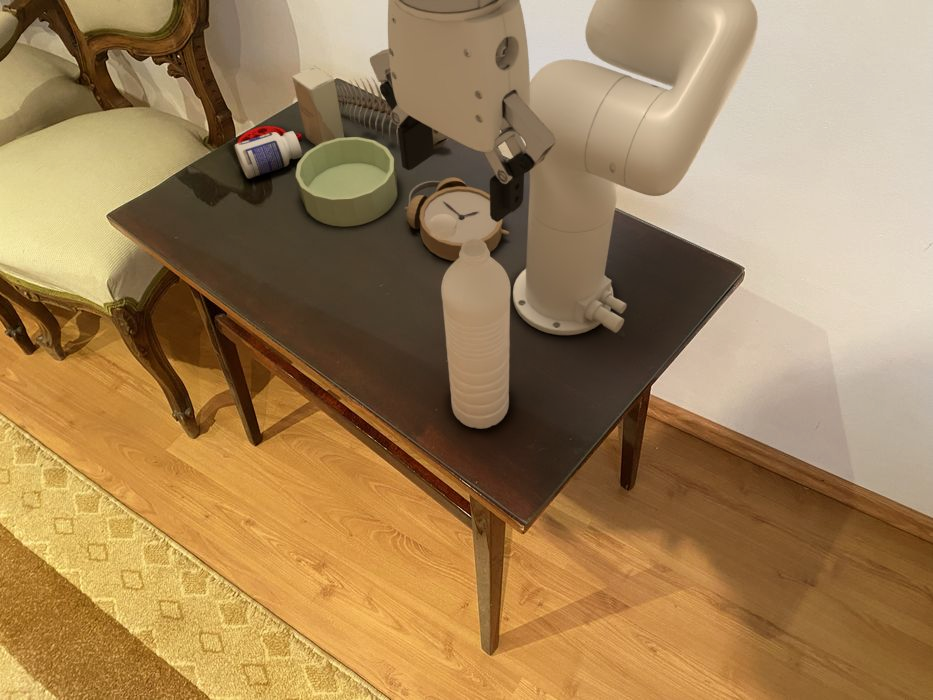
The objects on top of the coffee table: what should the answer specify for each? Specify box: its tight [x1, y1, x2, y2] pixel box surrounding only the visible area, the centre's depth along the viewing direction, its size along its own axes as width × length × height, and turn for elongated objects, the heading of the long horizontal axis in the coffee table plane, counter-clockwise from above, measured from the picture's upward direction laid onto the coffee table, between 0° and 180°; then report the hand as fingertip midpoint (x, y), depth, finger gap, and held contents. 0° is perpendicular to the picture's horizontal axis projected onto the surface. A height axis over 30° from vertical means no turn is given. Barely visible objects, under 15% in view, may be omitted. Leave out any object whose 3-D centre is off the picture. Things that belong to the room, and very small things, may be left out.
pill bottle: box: [234, 130, 303, 179], centre depth 110 cm, size 5×5×9 cm
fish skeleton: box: [335, 76, 449, 150], centre depth 114 cm, size 6×28×10 cm, turn 59°
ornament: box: [237, 125, 303, 143], centre depth 116 cm, size 8×1×10 cm
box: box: [291, 65, 346, 147], centre depth 112 cm, size 5×4×11 cm
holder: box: [295, 136, 399, 228], centre depth 106 cm, size 14×14×5 cm
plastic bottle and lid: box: [429, 214, 511, 430], centre depth 75 cm, size 9×6×25 cm
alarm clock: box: [404, 177, 510, 262], centre depth 101 cm, size 11×5×15 cm
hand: (461, 185), depth 60 cm, fingers open, 9 cm apart
